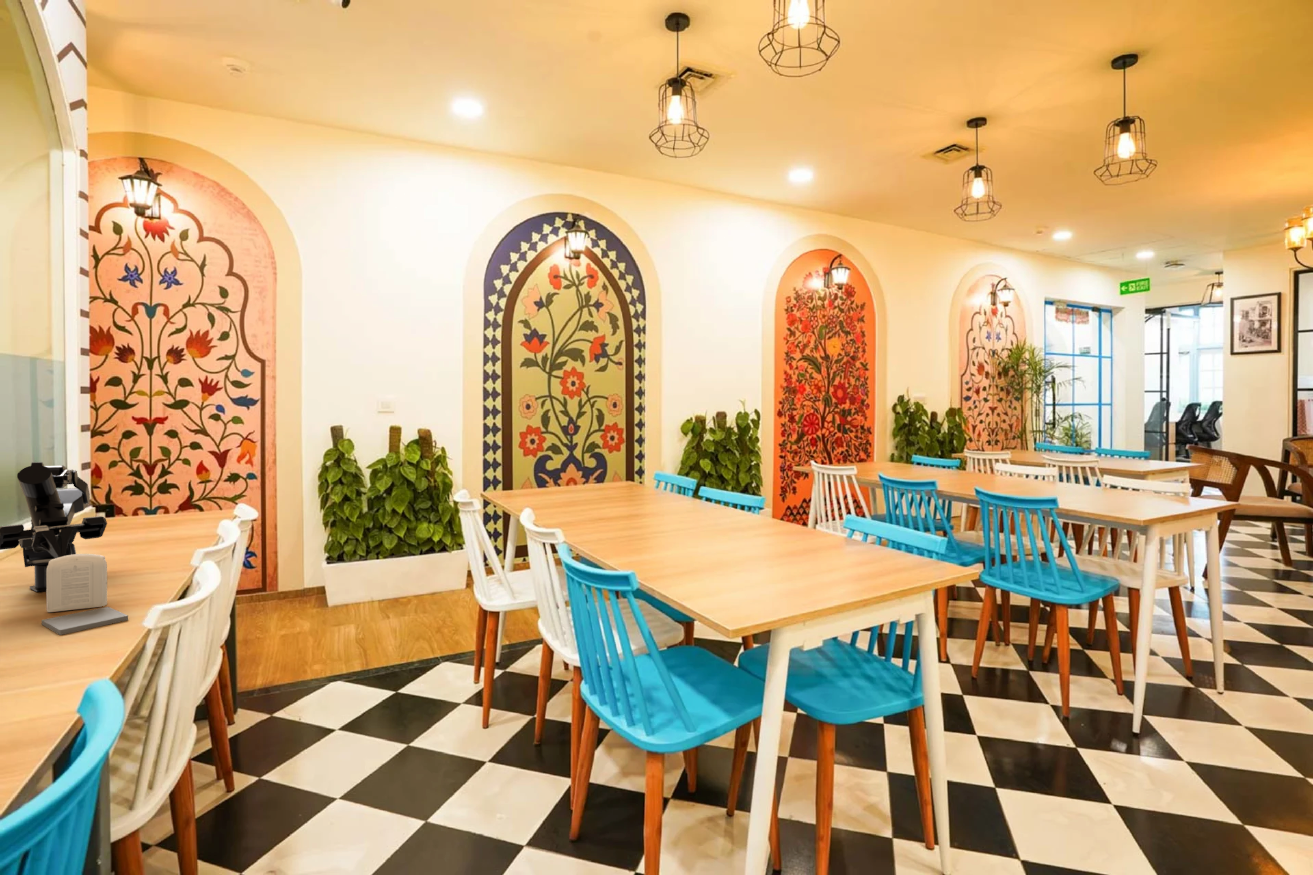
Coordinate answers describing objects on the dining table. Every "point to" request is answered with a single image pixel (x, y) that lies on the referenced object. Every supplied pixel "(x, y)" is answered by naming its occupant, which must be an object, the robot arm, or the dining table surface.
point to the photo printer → (76, 582)
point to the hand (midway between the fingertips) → (61, 560)
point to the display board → (84, 620)
